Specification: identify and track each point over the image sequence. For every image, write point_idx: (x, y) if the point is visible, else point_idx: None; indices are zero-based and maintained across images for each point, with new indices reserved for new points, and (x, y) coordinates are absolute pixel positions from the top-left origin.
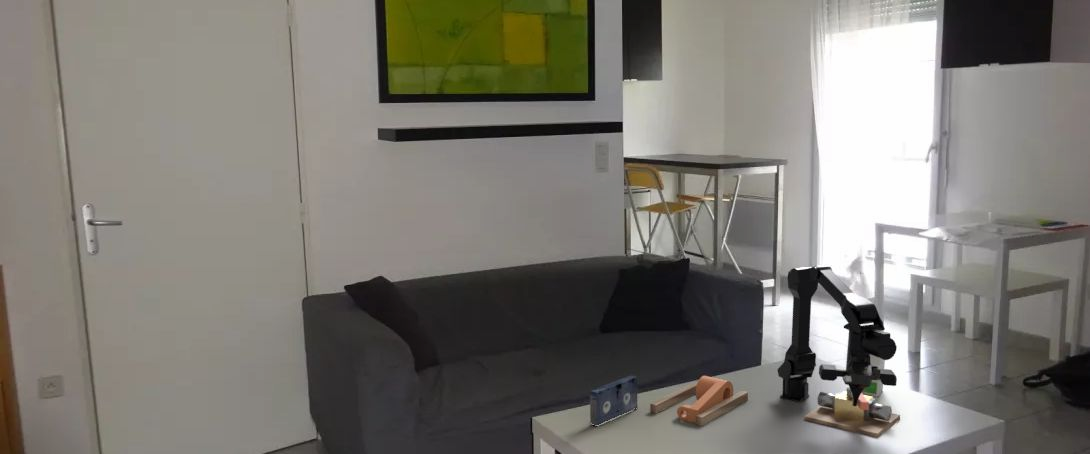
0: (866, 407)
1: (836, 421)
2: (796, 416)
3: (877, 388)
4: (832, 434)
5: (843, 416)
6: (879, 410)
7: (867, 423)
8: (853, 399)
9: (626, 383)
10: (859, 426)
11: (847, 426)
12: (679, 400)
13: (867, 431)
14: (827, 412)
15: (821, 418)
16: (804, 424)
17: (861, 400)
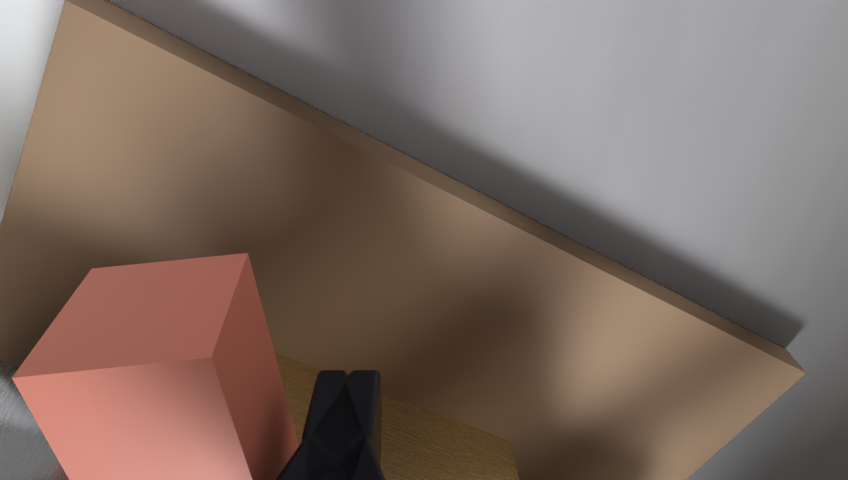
0: (119, 291)
1: (530, 301)
2: (820, 401)
3: None
4: (639, 4)
5: (435, 416)
6: (12, 451)
7: None
8: (379, 468)
9: None
10: (298, 207)
11: (438, 185)
12: None
13: (206, 71)
14: (557, 476)
15: (660, 348)
16: (836, 245)
17: (201, 457)
